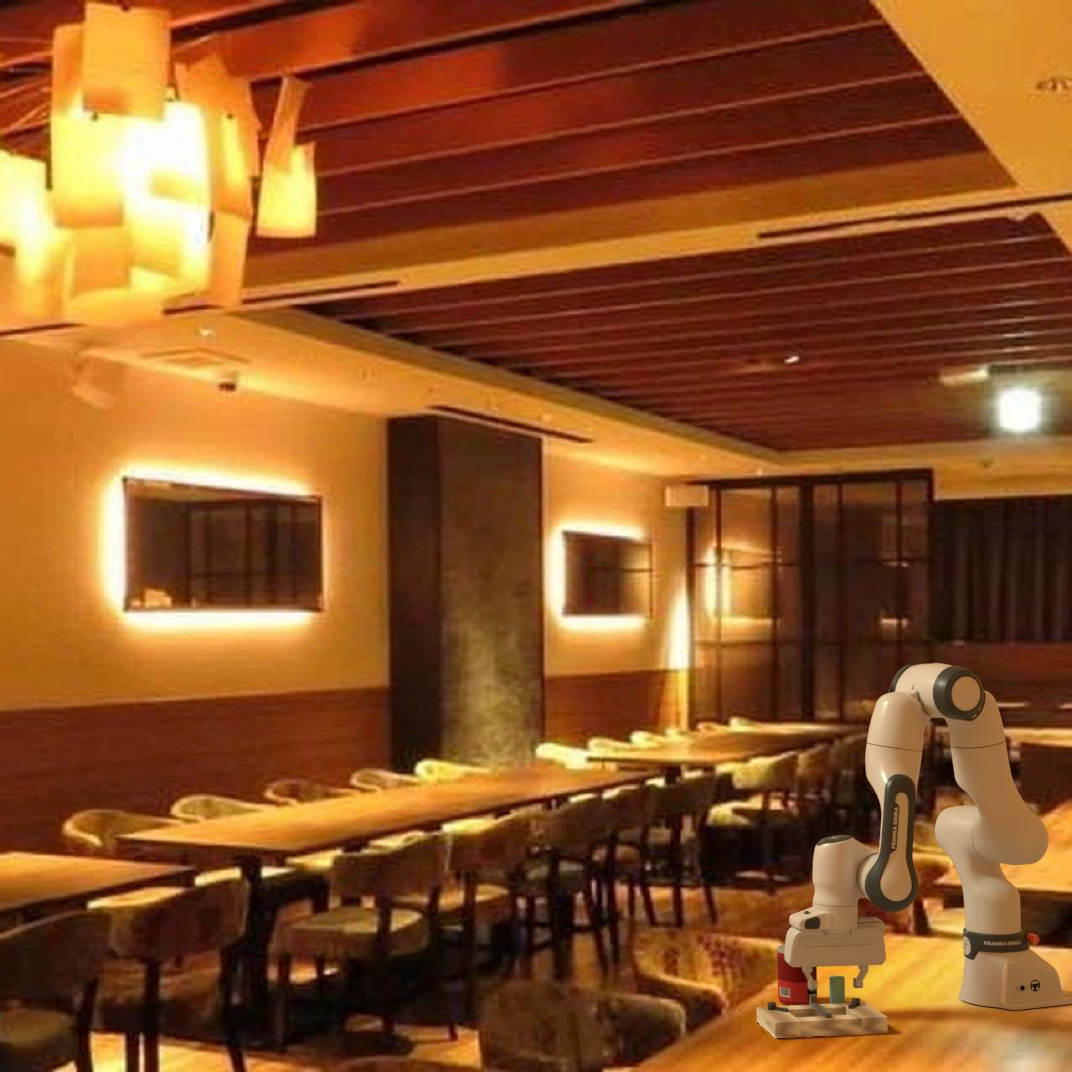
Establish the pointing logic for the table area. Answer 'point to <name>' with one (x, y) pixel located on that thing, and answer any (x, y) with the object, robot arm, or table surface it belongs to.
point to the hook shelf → (821, 1019)
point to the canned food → (792, 982)
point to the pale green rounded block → (837, 989)
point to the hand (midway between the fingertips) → (835, 988)
